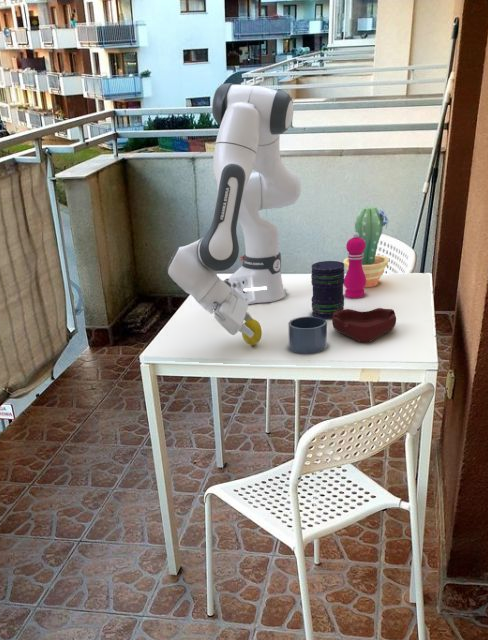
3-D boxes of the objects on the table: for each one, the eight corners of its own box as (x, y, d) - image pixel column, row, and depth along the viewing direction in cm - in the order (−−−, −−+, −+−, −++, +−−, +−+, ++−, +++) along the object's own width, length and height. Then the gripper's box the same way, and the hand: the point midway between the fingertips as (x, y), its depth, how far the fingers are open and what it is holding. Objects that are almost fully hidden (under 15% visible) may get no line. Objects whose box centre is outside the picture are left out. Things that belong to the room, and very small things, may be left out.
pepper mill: (369, 293, 229) (371, 230, 218) (360, 299, 224) (362, 235, 213) (348, 291, 232) (350, 229, 222) (339, 297, 227) (340, 234, 217)
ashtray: (332, 345, 191) (332, 328, 188) (332, 325, 205) (332, 309, 202) (398, 343, 188) (399, 326, 186) (394, 323, 202) (394, 307, 199)
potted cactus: (379, 291, 229) (383, 212, 216) (335, 288, 236) (336, 211, 223) (394, 279, 240) (398, 202, 227) (351, 276, 247) (353, 201, 234)
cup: (281, 349, 191) (281, 325, 188) (303, 338, 198) (303, 314, 194) (312, 356, 185) (311, 331, 182) (333, 344, 191) (333, 320, 188)
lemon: (260, 349, 193) (259, 321, 188) (241, 349, 194) (239, 321, 190) (263, 342, 197) (262, 315, 193) (244, 342, 198) (242, 315, 194)
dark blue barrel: (343, 308, 217) (344, 260, 210) (344, 318, 209) (345, 268, 201) (311, 309, 219) (311, 261, 211) (311, 319, 210) (310, 270, 203)
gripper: (218, 300, 179) (258, 335, 183) (228, 278, 196) (264, 311, 200) (203, 318, 182) (242, 352, 186) (214, 294, 199) (250, 326, 203)
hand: (254, 330), depth 193 cm, fingers open, 6 cm apart
